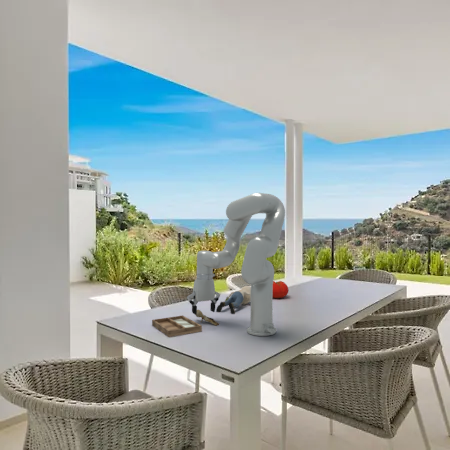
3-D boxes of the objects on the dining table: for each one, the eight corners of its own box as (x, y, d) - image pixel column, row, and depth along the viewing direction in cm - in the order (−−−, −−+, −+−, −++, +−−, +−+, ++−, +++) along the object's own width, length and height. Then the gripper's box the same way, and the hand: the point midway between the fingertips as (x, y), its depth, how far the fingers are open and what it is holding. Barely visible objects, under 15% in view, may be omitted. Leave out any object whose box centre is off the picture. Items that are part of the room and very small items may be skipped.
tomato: (285, 294, 245) (285, 279, 245) (290, 300, 229) (290, 283, 228) (263, 294, 244) (263, 279, 244) (266, 300, 228) (266, 283, 228)
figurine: (219, 328, 176) (197, 316, 186) (221, 319, 175) (198, 307, 185) (214, 330, 173) (192, 318, 183) (215, 321, 173) (193, 309, 182)
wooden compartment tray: (201, 331, 165) (201, 325, 165) (169, 337, 157) (168, 331, 157) (182, 320, 183) (182, 315, 183) (152, 325, 175) (152, 319, 175)
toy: (245, 320, 192) (268, 303, 218) (244, 300, 191) (267, 286, 217) (206, 314, 203) (232, 299, 229) (205, 296, 202) (231, 282, 228)
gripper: (216, 274, 187) (215, 308, 187) (184, 276, 178) (183, 312, 178) (224, 276, 180) (223, 312, 181) (191, 279, 171) (190, 316, 172)
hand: (203, 312), depth 180 cm, fingers open, 9 cm apart
